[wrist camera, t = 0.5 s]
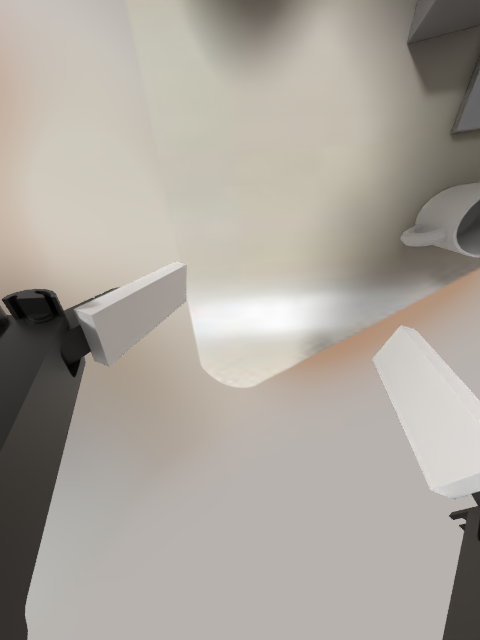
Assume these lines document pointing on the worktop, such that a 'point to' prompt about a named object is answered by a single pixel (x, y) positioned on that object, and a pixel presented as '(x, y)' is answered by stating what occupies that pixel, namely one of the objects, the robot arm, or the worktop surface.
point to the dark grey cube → (443, 18)
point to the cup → (449, 221)
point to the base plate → (470, 106)
